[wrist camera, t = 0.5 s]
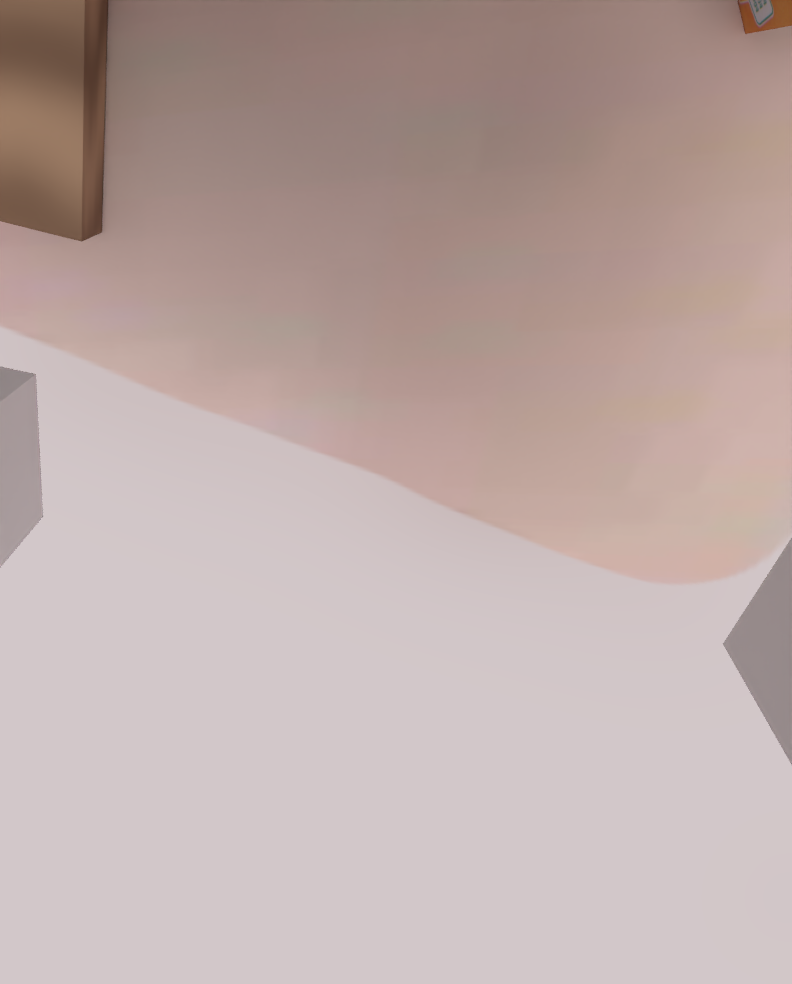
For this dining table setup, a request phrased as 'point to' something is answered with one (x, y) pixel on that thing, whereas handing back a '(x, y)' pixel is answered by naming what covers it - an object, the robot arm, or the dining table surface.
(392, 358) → the dining table surface
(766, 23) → the milk carton
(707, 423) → the dining table surface
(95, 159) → the frame
